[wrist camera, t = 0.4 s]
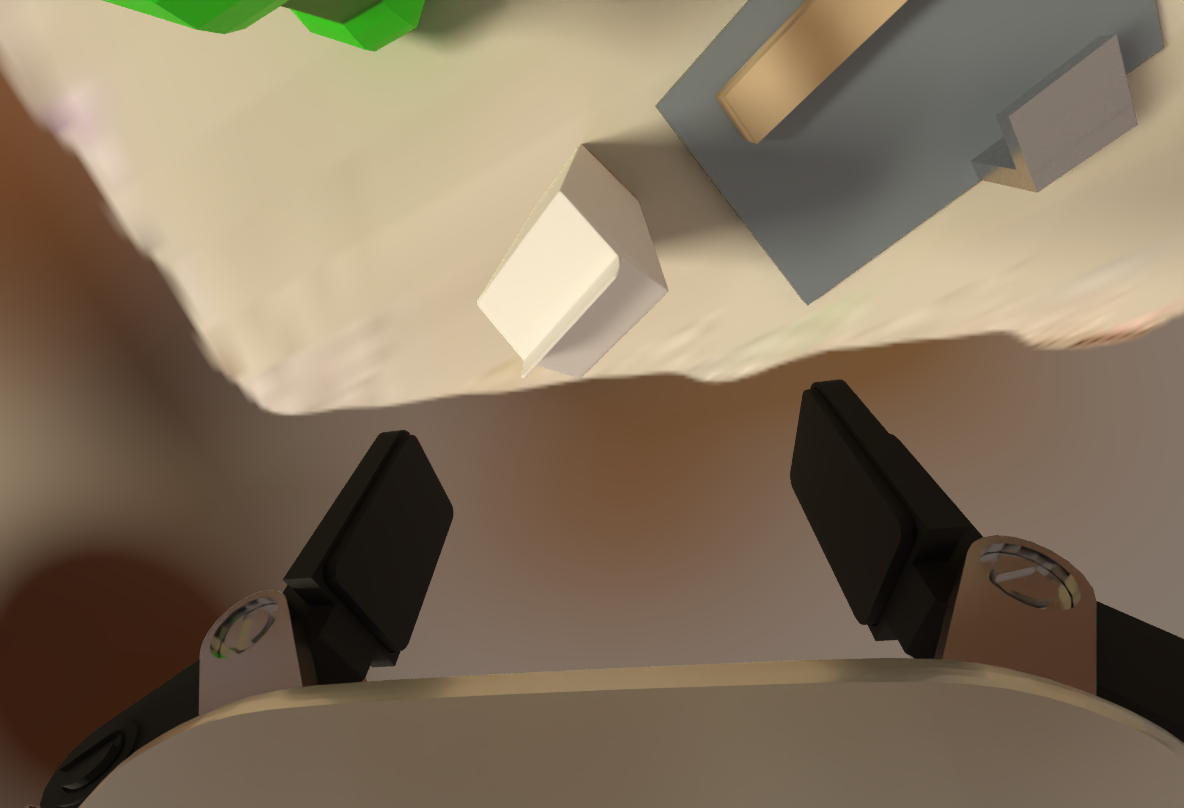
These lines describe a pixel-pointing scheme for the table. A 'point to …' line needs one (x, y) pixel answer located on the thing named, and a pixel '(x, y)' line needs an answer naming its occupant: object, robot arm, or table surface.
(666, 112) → the board
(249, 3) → the plastic bottle
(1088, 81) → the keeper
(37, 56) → the table surface
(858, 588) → the robot arm
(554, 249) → the milk
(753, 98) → the link
